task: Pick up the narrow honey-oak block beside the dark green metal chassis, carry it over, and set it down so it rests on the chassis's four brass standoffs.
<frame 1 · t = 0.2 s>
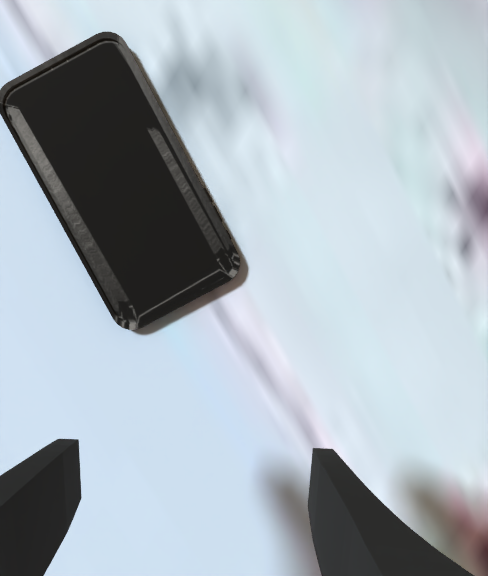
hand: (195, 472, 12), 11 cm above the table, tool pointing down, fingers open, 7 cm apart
phone: (127, 187, 22), on the table
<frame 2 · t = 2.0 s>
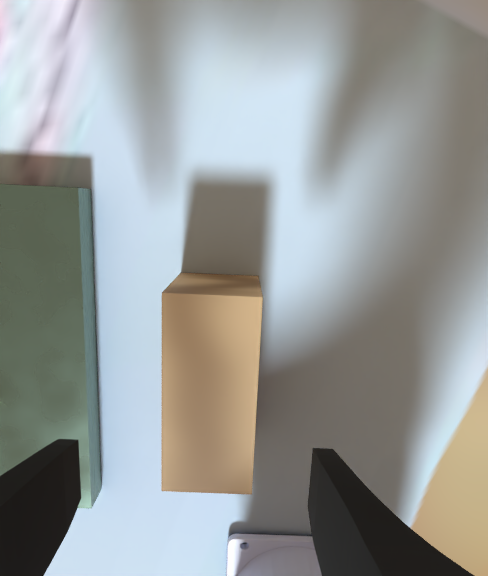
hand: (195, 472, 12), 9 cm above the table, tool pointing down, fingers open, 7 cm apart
oak block: (217, 354, 21), on the table
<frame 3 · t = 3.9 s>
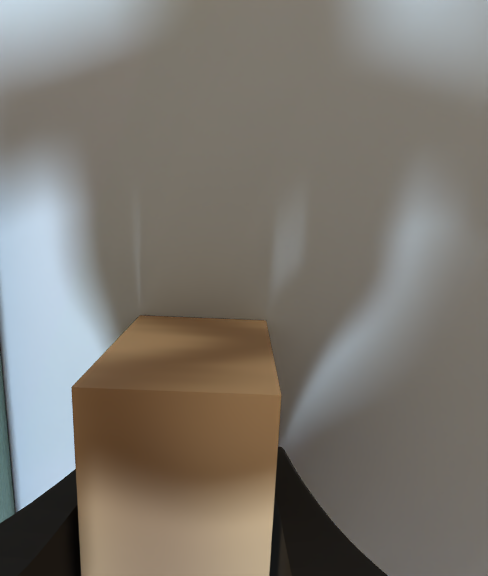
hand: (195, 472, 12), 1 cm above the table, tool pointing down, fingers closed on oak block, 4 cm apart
oak block: (200, 445, 13), on the table, touching gripper
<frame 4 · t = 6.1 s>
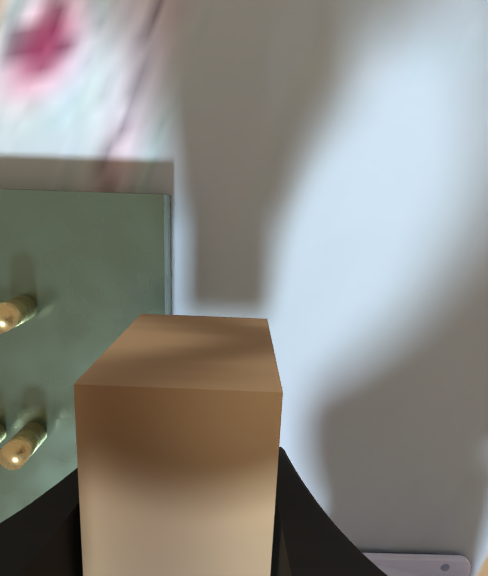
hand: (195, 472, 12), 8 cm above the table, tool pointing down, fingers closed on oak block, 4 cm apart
oak block: (201, 443, 13), point 7 cm above the table, touching gripper
chassis: (25, 359, 20), on the table
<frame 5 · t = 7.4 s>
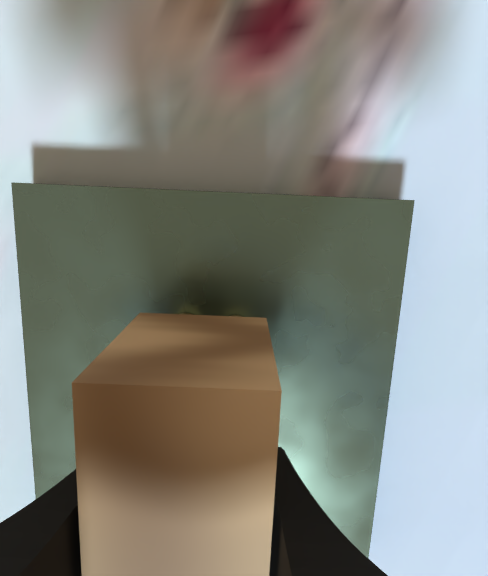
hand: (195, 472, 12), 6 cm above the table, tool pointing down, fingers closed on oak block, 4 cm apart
oak block: (200, 442, 13), point 5 cm above the table, touching gripper
chassis: (211, 385, 18), on the table
when the fingers open (6 cm above the table, at t = 8.2 s): oak block stays where it is, resting on chassis.
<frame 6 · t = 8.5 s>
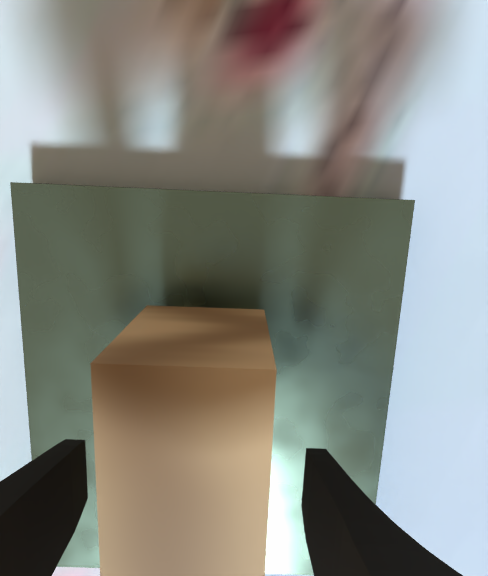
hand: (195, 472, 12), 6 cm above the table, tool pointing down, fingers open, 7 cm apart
oak block: (203, 426, 14), point 3 cm above the table, touching chassis
chassis: (211, 385, 18), on the table
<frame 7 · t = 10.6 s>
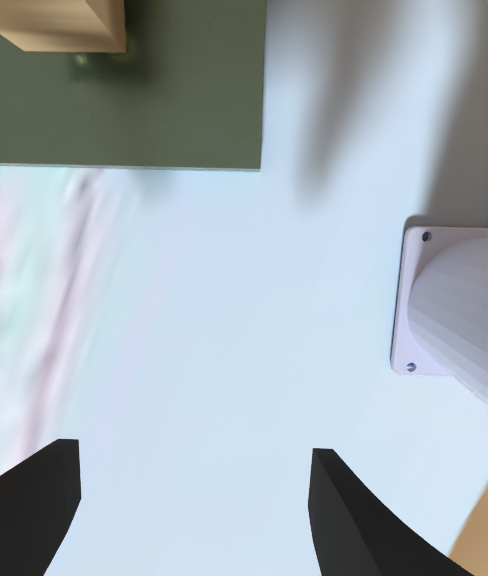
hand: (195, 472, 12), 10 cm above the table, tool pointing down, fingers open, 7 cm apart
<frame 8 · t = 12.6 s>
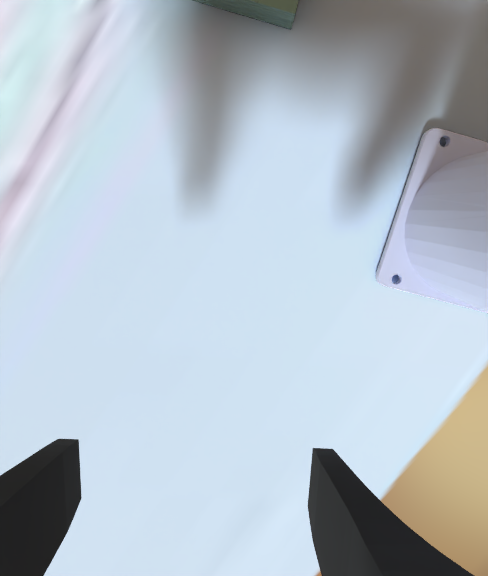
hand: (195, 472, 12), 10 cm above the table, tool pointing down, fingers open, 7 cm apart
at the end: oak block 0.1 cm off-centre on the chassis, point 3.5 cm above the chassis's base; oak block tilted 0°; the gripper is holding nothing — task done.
